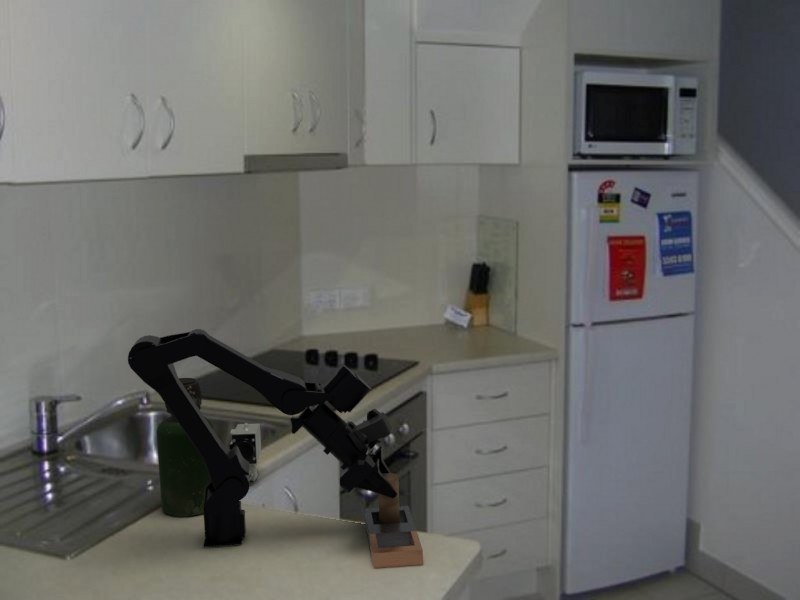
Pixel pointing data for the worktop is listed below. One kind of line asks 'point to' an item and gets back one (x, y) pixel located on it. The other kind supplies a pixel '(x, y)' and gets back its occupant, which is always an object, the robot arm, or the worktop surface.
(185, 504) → the spray bottle
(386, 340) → the worktop surface
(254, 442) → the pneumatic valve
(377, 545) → the grey copper flat frame
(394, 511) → the walnut peg
